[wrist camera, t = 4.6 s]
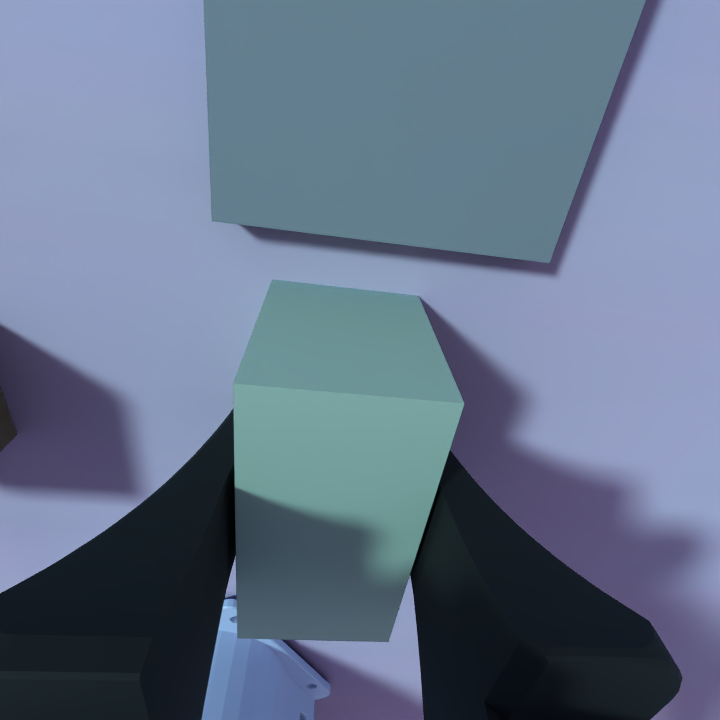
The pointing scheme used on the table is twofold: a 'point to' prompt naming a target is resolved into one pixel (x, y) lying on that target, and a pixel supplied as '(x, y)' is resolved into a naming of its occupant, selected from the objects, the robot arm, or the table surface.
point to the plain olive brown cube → (5, 423)
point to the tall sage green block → (335, 459)
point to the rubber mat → (410, 116)
